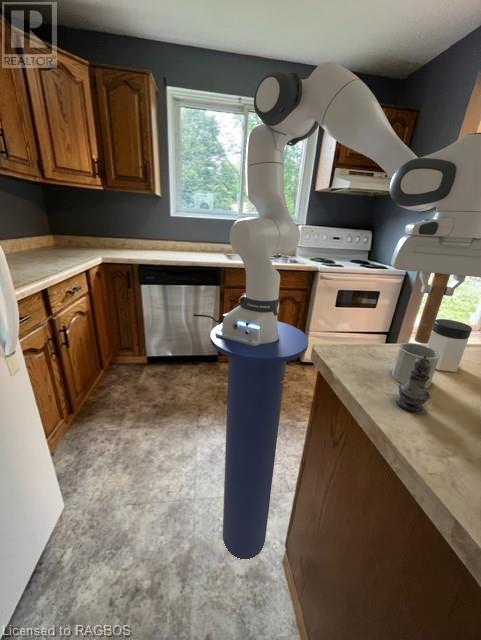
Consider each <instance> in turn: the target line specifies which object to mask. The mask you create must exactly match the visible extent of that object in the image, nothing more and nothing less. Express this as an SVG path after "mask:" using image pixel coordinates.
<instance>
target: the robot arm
mask: <svg viewBox="0 0 481 640" xmlns="http://www.w3.org/2000/svg"><path fill="white" fill-rule="evenodd" d="M253 108H254V109H253V110H254V113H255V115H256V116H257V118H258V119H259V120H260V121H261V123H259V124H257V125H255V126H253V127H252V128H251V130H250V131H249V133H248V136H247V141H246V155H245V157H246V158H245V176H246V196H247V199H248V201H249V202H250V203H251V204H252V205H253V206H254V208H255V209H256V211H257V213H258V216H259V217H256V216H255V217H254V216H253V217H252V216H251V217H245V218H241V219H238V220H236V221H235V222H234V223H233V224H232V226H231V228H230V230H229V244H230V246H231V248H232V249H233V251H234V252H235V253H236V254H237V255H238V256H239V257H240V259H241V261H242V263H243V267H244V271H245V292H244V293H243V294H241V296H240V297H239V299H238V304H239V305H238V306H236V307H235V308H233V309H231V310H230V311H229V312H227V313H224V314H222V315H221V316H219V318H218V320H217V319H216V318H214V316H212V315H208V314H195V313H194V314H192V316H193V317H199V318H201V317H202V318H210V319H211V320H213V321H214V322H215V323H220V322H221V321H222V322H221V323H223V324H221V323H220V324H221V325H220V326H219V327H218V328H217V329H216V336H218V337H222V338H225V339H229V340H233V341H236V342H240V343H244V344H247V345H251V346H256V345H259V344H265V343H271V342H275V341H277V340H278V339H279V332H278V324H277V321H278V315H279V312H280V297H279V296H280V286H281V285H280V284H281V274H280V272H279V271H278V270H277V269H276V268H275V267H274V265H273V262H272V255H283V254H287V253H289V252H291V251H293V250H295V249H296V248H297V247H298V245H299V243H300V240H301V230H300V228H299V226H298V225H297V224H296V222H295V221H294V220H293V218H292V216H291V214H290V211H289V207H288V204H287V199H286V195H285V166H284V165H285V164H284V163H285V162H284V161H285V160H284V153H285V152H284V151H285V148H286V146H289V147H293V146H295V145H296V144H298V143H299V142H301V141H305V140H307V139H308V138H311V136H313V135H314V133H315V132H316V131H317V129H318V128H319V126H320V127H321V128H322V129H323V130H324V131H325V132H326V134H328V135H329V137H331V138H332V139H333V140H335V141H336V142H338V143H339V144H341V145H342V146H344V147H346V148H348V149H350V150H352V151H355V152H357V153H358V154H361V155H363V156H364V157H367V158H368V159H370V160H372V161H373V162H375V163H376V164H377V165H378V166H379V167H380V168H381V169H382V170H383V171H384V172H385V173H386V174H387V175H388V176H389V177H390V178H391V180H390V184H389V195H390V197H391V200H392V201H393V202H394V203H395V204H396V205H397V206H399V207H400V208H403V209H405V210H409V211H411V212H412V213H415V214H419V215H425V214H430V213H434V214H433V217H432V218H428V219H422V220H419V221H416V222H411V223H408V224H406V225H405V228H404V234H405V235H403V236H402V237H400V238H399V239H398V242H397V243H396V246H395V248H394V250H393V251H394V252H393V254H392V257H391V260H390V261H391V262H390V264H391V267H392V268H393V269H394V270H398V271H408V272H419V279H420V283H421V284H422V285H421V287H420V292H421V293H422V294H427V295H428V294H430V293H431V289H432V287H433V286H431V284H429V282H428V279H429V278H430V277H431V274H434V273H439V274H449V275H450V276H452V279H453V281H452V282H451V283H450V284H449V285H447V287H446V290H445V293H444V296H446V297H453V295H454V294H455V293H454V292H455V289H458V287H459V286H461V285H462V284H463V283H464V282H465V280H466V277H472V278H481V132H473V133H467V134H464V135H462V136H461V137H459V138H458V139H457V140H456V141H454V142H453V143H451V144H449V145H448V146H446V147H443V148H442V149H439V150H437V151H435V152H433V153H430V154H426V155H424V156H421V157H419V156H417V155H416V154H415V153H414V151H412V150H411V148H410V147H409V146H408V145H406V144H405V143H404V142H403V141H402V140H401V139H400V137H399V136H398V135H397V133H396V132H395V130H394V129H393V127H392V125H391V123H390V122H389V119H388V118H387V115H386V114H385V112H384V109H383V108H382V107H381V104H380V103H379V101H378V100H377V98H376V96H375V94H374V93H373V92H372V90H371V89H370V88H369V87H368V85H367V84H366V83H365V82H363V80H362V79H360V78H359V77H358V76H357V75H356V74H354V72H352V71H351V70H349V69H348V68H346V67H344V66H342V65H340V64H339V63H336V62H335V61H325V62H323V63H320V64H319V65H318V66H316V68H315V69H314V70H313V71H312V72H311V73H310V75H309V76H308V77H307V78H306V79H302V77H301V75H300V73H299V72H285V71H271V72H268V73H267V74H266V75H264V76H263V77H262V79H261V80H260V81H259V82H258V84H257V86H256V89H255V91H254V96H253ZM427 278H428V279H427Z"/></svg>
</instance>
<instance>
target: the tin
mask: <svg viewBox="0 0 481 640" xmlns="http://www.w3.org/2000/svg"><path fill="white" fill-rule="evenodd" d="M424 355H426V356H427V357H426V358H427V359H428V360H429V361H430V362H431V368H430V371H429V374H428V376H429V377H430V378H429V380H427V382H426V385H425V389H428V388H430V386H431V384H432V381H433V378H434V375H435V372H436V370H437V369H436V366H437V363H438V360H439V357H440V354H439V353H438V352H437V351H435V350H434V349H432V348H429V347H427V345H425V344H421V343H414V342H402V343H400V344H399V346H398V350H397V352H396V356H395V361H394V364H393V366H392V371H391V376H392V378H393V379H394V380H395V381H396V382H398V383H399V384H401V383H407V382H408V380H409V377H410V374H409V371H411V370H412V369H413V365H414V362H415V360H416V359H417V358H422V357H423V356H424Z"/></svg>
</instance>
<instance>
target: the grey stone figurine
mask: <svg viewBox="0 0 481 640" xmlns="http://www.w3.org/2000/svg"><path fill="white" fill-rule="evenodd" d="M426 357H427V356H426V355H424V356H423V357H422V358H417V359H416V360H415V362H414V365H413V369H412V370H411V371H409V374H410V377H409V380H408V382H407V383H399V384H398V385H397V389H398V393H399V397H397V398H395V403H396V405H397V406H398V407H399V408H401V409H402V410H404V411H406V412H408V413H412V414H422V413H424V412H425V406H424V405H425V404H426V403H427V402H428V400H430V399H431V398H432V395H431V392H429V390H427V388H425V385H426V382H427V380H429V378H430V377H429V376H428V374H429V371H430V368H431V362H430V361H429V360H428V359H427V358H426Z"/></svg>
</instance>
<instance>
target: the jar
mask: <svg viewBox="0 0 481 640" xmlns="http://www.w3.org/2000/svg"><path fill="white" fill-rule="evenodd" d="M472 330H473V327H472V326H470V325H469V324H468V323H467V324H466V323H464V322H461V321H457V320H453V319H448V318H447V319H446V318H436V320H435V323H434V326H433V330H432V333H431V336H430V339H429V342H428V344H426V346H427V347H429V348H432V349H434V350H435V351H437V352H438V353H439V354H440V357H439V360H438V363H437V366H436V369H435V370H437V371H443V372H452V373H457V372H458V369H459V366H460V363H461V361H462V358H463V356H464V353H465V350H466V347H467V344H468V342H469V338H470V336H471V333H472Z"/></svg>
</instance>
